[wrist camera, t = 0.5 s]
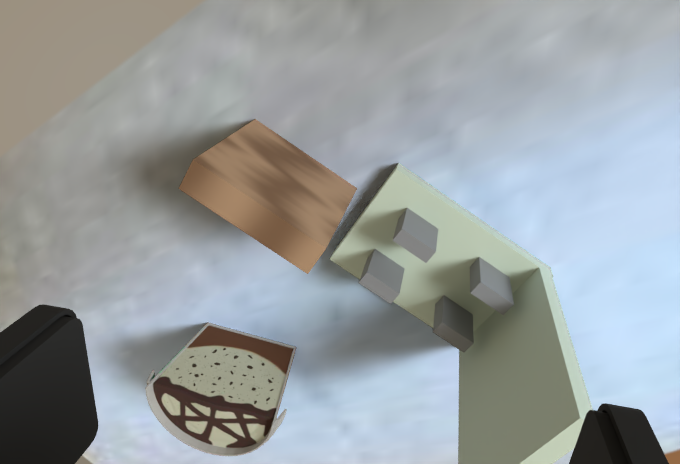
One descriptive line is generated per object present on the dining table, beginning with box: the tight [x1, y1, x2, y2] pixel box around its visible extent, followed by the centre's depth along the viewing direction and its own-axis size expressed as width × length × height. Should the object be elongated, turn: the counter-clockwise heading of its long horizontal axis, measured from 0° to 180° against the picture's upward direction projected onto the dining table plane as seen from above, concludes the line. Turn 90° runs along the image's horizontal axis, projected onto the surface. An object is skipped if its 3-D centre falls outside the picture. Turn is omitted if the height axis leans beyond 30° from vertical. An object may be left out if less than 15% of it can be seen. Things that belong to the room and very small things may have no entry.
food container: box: [145, 323, 296, 456], centre depth 49 cm, size 12×6×10 cm, turn 80°
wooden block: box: [179, 119, 357, 274], centre depth 38 cm, size 10×3×11 cm, turn 58°
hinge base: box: [330, 163, 593, 464], centre depth 36 cm, size 15×10×18 cm, turn 58°
